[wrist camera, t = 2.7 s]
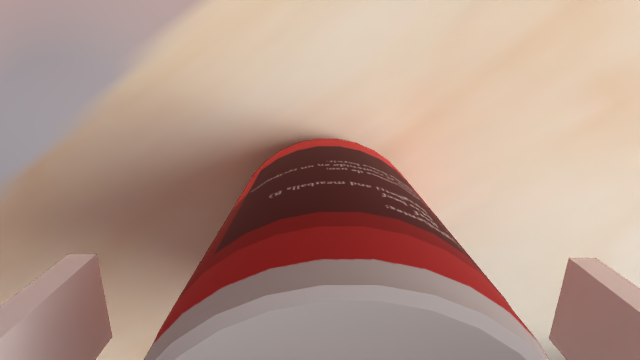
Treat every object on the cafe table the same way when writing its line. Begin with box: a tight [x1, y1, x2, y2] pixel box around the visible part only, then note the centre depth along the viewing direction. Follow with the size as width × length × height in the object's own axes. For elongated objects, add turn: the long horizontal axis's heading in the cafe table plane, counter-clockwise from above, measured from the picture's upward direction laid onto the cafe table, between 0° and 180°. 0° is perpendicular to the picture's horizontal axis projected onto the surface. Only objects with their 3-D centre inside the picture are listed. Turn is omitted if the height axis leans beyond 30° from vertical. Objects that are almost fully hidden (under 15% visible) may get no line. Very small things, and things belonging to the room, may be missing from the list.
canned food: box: [144, 139, 549, 360], centre depth 11 cm, size 8×8×11 cm
